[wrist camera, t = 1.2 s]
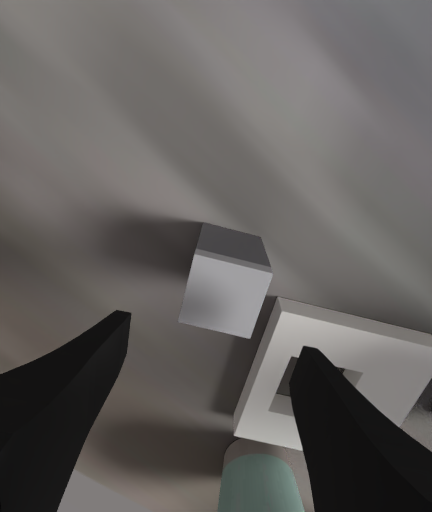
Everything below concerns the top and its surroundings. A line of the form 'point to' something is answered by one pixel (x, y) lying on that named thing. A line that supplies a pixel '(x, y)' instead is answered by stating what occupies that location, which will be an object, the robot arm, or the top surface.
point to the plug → (226, 281)
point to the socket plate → (341, 355)
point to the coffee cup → (258, 479)
